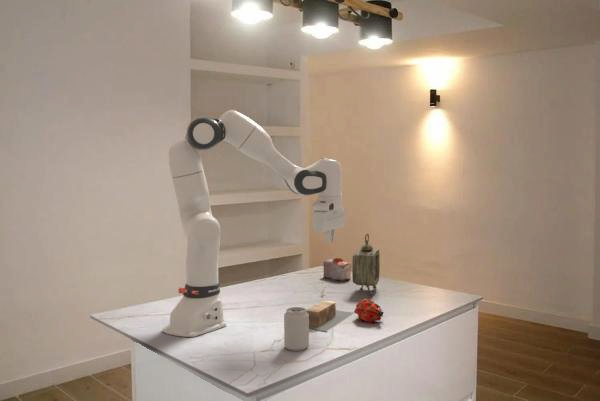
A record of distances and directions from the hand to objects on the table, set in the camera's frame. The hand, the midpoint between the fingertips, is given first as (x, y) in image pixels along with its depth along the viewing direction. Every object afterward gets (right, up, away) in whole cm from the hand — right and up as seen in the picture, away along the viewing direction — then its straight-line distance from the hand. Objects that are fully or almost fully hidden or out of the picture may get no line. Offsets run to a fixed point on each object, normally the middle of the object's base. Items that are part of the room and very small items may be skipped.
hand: (330, 242), depth 203 cm
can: (-12, -30, -31) cm, 45 cm away
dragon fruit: (+14, -28, -5) cm, 31 cm away
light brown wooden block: (0, -24, +2) cm, 24 cm away
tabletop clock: (+17, -24, +36) cm, 47 cm away
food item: (+7, -22, +62) cm, 66 cm away
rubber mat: (-3, -28, -3) cm, 28 cm away
